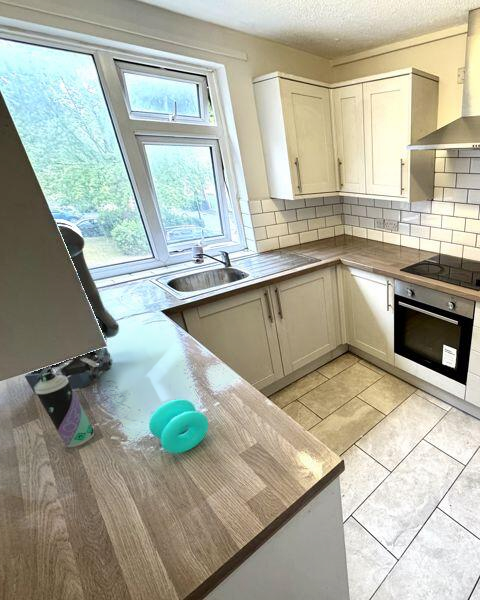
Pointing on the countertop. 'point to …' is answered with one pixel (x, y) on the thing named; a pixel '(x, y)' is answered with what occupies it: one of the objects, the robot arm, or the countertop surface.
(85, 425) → the spray can
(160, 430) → the turquoise spool
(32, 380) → the bin
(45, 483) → the countertop surface
